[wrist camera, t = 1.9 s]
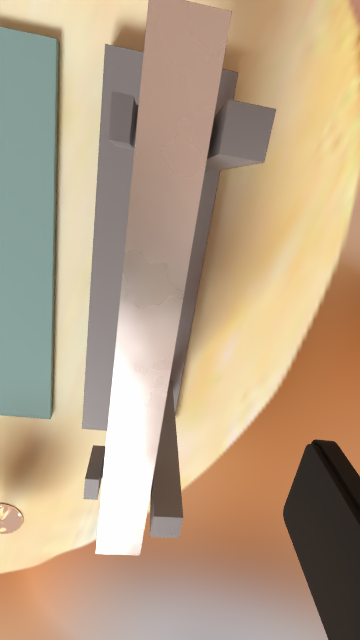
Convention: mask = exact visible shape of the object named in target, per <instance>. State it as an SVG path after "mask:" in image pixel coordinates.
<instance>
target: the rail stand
mask: <svg viewBox="0 0 360 640" xmlns="http://www.w3.org/2000/svg"><path fill="white" fill-rule="evenodd" d="M143 55H144V52H141V51H136V50H131V49H127V48H122V47H117V46H113V45H108V44H105V56H104V73H103V90H102V106H101V123H100V139H99V156H98V173H97V189H96V206H95V222H94V239H93V256H92V272H91V289H90V305H89V322H88V339H87V355H86V372H85V388H84V405H83V422H82V429H92V430H105V431H108V421H109V410H110V400H111V389H112V379H113V368H114V358H115V347H116V337H117V326H118V316H119V306H120V295H121V285H122V274H123V264H124V253H125V243H126V232H127V222H128V211H129V201H130V191H131V180H132V170H133V159H134V149H135V138H136V128H137V117H138V107H139V96H140V86H141V75H142V65H143ZM237 77H238V72H234V71H229V70H224V69H222V72H221V78H220V84H219V90H218V96H217V102H216V108H215V114H214V120H213V126H212V132H211V137H210V143H209V149H208V155H207V161H206V167H205V173H204V179H203V185H202V191H201V196H200V202H199V208H198V214H197V220H196V226H195V232H194V238H193V244H192V250H191V256H190V261H189V267H188V273H187V279H186V285H185V291H184V297H183V303H182V309H181V315H180V320H179V326H178V332H177V338H176V344H175V350H174V356H173V362H172V368H171V374H170V380H169V385H168V391H167V397H166V403H165V409H164V415H163V421H162V427H161V433H160V439H159V445H158V450H157V456H156V462H155V468H154V474H153V480H152V486H151V507H150V537H167V538H179V534H180V530H181V525H182V521H183V510H182V497H181V485H180V472H179V460H178V447H177V434H176V422H175V412H176V407H177V401H178V396H179V391H180V385H181V380H182V374H183V369H184V364H185V358H186V353H187V347H188V342H189V337H190V331H191V326H192V320H193V315H194V310H195V304H196V299H197V293H198V288H199V282H200V277H201V272H202V266H203V261H204V255H205V250H206V245H207V239H208V234H209V228H210V223H211V218H212V212H213V207H214V201H215V196H216V191H217V185H218V180H219V174H220V170H224V169H230V168H235V167H241V166H246V165H252V164H257V163H263V162H264V161H265V156H266V152H267V147H268V143H269V139H270V134H271V130H272V125H273V121H274V117H275V112H276V109H273V108H268V107H263V106H259V105H254V104H249V103H244V102H239V101H234V100H233V99H234V93H235V88H236V82H237ZM105 452H106V446H94V445H93V448H92V452H91V456H90V461H89V465H88V469H87V473H86V477H85V488H84V499H95V500H97V499H98V493H99V488H100V483H101V478H103V473H104V462H105Z"/></svg>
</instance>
